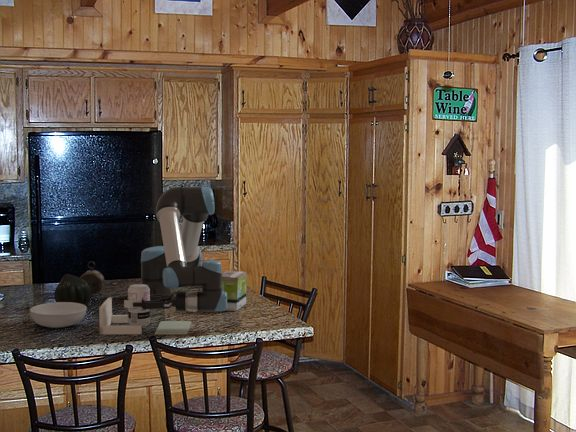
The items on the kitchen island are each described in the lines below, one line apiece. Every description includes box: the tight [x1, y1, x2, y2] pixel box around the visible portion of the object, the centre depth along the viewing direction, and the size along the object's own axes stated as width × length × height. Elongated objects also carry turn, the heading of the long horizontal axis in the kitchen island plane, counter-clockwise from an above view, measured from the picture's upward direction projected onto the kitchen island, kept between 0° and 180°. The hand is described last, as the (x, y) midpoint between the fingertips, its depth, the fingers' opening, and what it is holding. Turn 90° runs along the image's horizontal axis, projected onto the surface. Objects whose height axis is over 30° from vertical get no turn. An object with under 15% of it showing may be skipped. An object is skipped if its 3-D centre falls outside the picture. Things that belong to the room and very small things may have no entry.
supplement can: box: [127, 283, 151, 328], centre depth 269 cm, size 8×8×15 cm
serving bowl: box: [29, 301, 88, 329], centre depth 274 cm, size 21×21×7 cm
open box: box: [98, 297, 143, 335], centre depth 270 cm, size 15×17×10 cm
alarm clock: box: [79, 261, 106, 297], centre depth 324 cm, size 11×5×16 cm, turn 84°
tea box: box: [222, 270, 248, 312], centre depth 307 cm, size 15×10×15 cm, turn 168°
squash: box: [53, 273, 92, 306], centre depth 304 cm, size 14×15×15 cm
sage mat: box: [154, 320, 192, 335], centre depth 272 cm, size 12×18×1 cm, turn 3°
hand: (126, 301), depth 269 cm, fingers closed on supplement can, 8 cm apart
